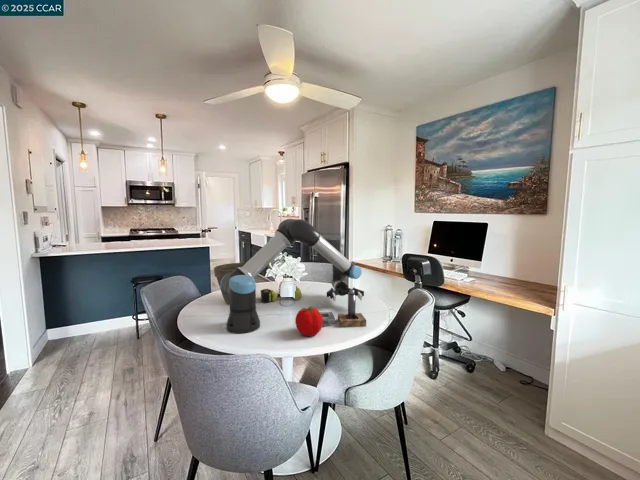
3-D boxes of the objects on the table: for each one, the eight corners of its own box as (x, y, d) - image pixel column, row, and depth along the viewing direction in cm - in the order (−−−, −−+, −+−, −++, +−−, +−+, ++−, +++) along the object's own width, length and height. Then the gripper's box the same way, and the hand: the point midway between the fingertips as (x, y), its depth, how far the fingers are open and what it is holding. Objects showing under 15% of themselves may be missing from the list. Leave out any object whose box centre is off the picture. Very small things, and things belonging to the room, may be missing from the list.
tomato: (290, 337, 126) (290, 310, 125) (301, 326, 139) (301, 302, 138) (318, 340, 123) (318, 313, 122) (326, 329, 136) (326, 304, 135)
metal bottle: (348, 324, 141) (349, 291, 140) (347, 321, 145) (347, 289, 143) (356, 324, 142) (356, 291, 140) (354, 321, 145) (354, 289, 144)
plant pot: (212, 309, 164) (211, 270, 162) (217, 297, 187) (216, 263, 186) (258, 306, 169) (258, 268, 168) (257, 294, 193) (257, 261, 191)
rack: (340, 327, 138) (341, 321, 137) (337, 319, 148) (337, 313, 147) (366, 326, 139) (366, 320, 139) (361, 318, 149) (361, 313, 149)
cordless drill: (259, 292, 198) (296, 290, 205) (261, 304, 174) (303, 301, 181) (259, 282, 198) (296, 280, 204) (261, 292, 174) (303, 290, 180)
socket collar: (314, 324, 141) (314, 319, 141) (312, 317, 151) (312, 312, 151) (335, 323, 142) (335, 318, 142) (332, 316, 152) (332, 311, 152)
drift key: (313, 328, 136) (313, 326, 136) (312, 327, 138) (312, 325, 138) (329, 326, 139) (329, 324, 139) (328, 324, 141) (328, 323, 141)
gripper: (362, 293, 173) (372, 304, 152) (319, 294, 171) (323, 306, 150) (362, 281, 173) (372, 290, 152) (319, 282, 170) (323, 291, 149)
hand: (348, 298), depth 151 cm, fingers open, 13 cm apart
